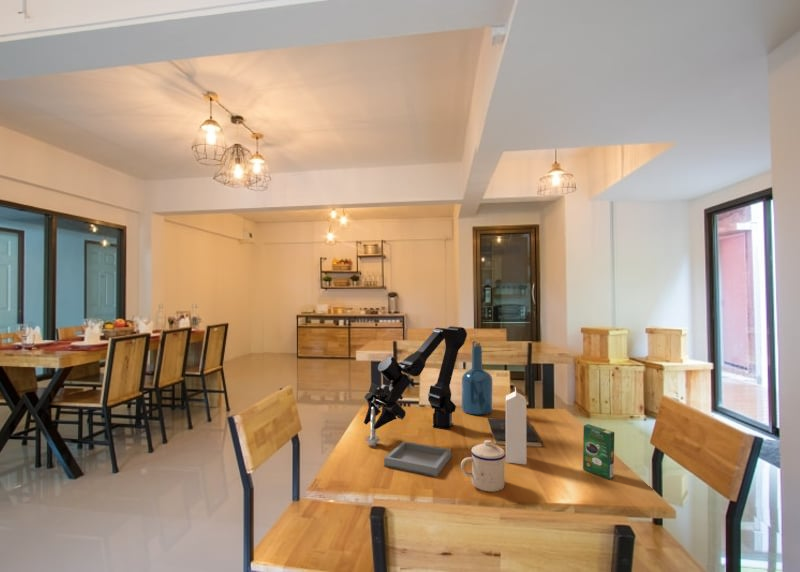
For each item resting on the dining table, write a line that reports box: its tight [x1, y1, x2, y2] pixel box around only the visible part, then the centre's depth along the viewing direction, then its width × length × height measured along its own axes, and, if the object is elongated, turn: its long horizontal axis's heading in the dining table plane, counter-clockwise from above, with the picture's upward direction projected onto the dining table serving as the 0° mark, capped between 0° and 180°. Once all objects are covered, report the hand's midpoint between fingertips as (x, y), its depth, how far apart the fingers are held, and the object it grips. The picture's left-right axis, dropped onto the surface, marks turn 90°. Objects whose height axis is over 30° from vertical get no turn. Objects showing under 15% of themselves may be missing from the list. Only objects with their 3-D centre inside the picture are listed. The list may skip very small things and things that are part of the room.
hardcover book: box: [487, 417, 544, 448], centre depth 144 cm, size 16×23×2 cm
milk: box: [505, 386, 527, 466], centre depth 122 cm, size 6×6×22 cm
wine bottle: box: [461, 342, 494, 416], centre depth 171 cm, size 14×13×30 cm
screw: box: [365, 407, 381, 447], centre depth 133 cm, size 13×5×5 cm
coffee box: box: [582, 423, 615, 481], centre depth 112 cm, size 8×3×13 cm, turn 35°
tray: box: [383, 440, 452, 478], centre depth 120 cm, size 16×14×2 cm
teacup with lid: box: [460, 439, 506, 493], centre depth 106 cm, size 12×9×12 cm
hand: (369, 426), depth 132 cm, fingers open, 6 cm apart
